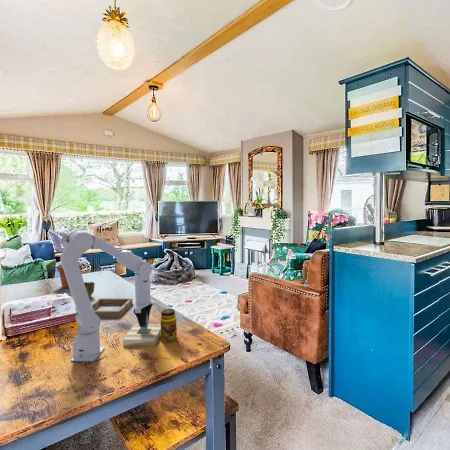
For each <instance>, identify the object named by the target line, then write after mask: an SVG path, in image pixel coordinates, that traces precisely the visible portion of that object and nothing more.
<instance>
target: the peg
mask: <svg viewBox="0 0 450 450" xmlns="http://www.w3.org/2000/svg"><path fill="white" fill-rule="evenodd" d="M148 324H149V320H148V313H147V317H146V325H145V327H140V331H142V332H144V331H147V330H148Z"/></svg>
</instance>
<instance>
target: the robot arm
mask: <svg viewBox="0 0 450 450" xmlns="http://www.w3.org/2000/svg"><path fill="white" fill-rule="evenodd" d="M67 236H68V237H67V238H66V239H65V242H64V243H63V247H62V250H61V255H60V259H59V260H60V263H61V264H62V267H63V270H64V273H65V276H66V279H67V282H68V285H69V288H68V289H69V291H70V293H71V297H72V300H73V302H74V306H75V307H74V308H75V321H76V324H78V326H77V328H76V336H75V338H74V340H72V356H73V357H72V358H71V359H70V361H71V362H95V360H97V358H98V357H99V355H101V353H102V352H103V351H104V350H105V348H106V347H105V346H101V341H100V339H101V337H100V326H101V318H99V317H98V316H97V315H96V314H95V311H96V310H94V309H93V307H92V305H91V304H92V303H91V300H90V298H89V296H88V293H87V290H86V287H85V284H84V283H85V280H84V278H83V275H82V270H81V271H80V268H79V265H78V263H79V262H78V261H79V260H80V259H81V257H82V256H83V254H85V253H87V252H88V251H89V250H90V249H91V250H101V251H103V252H104V253H106V254H107V255H110V256H112V257H114V258H116V259H115V260H116V262H117V264H118V265H121V266H122V267H125V268H126V269H128V270H129V271H132V272H133V273H134V291H135V292H134V294H135V296H134V297H135V302H134V303H135V304H134V305H135V307H134V308H133V314H134V315H135V316H136V317H135V318H136V319H137V324H139V326H140V327H145V325H146V317H147V313H148V321H149V320H150V314H151V310H152V307H153V304H154V302H155V301H154V300H152V297H151V279H150V278H151V277H150V276H151V274H152V272H153V267H152V265H151V263H150V262H148V261H146V260H144V259H143V257H142V256H138V255H135V253H134V251H133V250H130V249H122V250H121V249H119V248H117V247H116V246H114V245H112V244H111V243H109V242H108V241H106V240H104V239H103V238H100V237H99V236H95V235H93V234H91V233H89V232H86V231H83V230H81V229H77V230H76V229H75V230H73V231H71V232H70V233H69V234H68V235H67ZM61 264H60V265H61Z"/></svg>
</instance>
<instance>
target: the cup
mask: <svg viewBox="0 0 450 450" xmlns="http://www.w3.org/2000/svg"><path fill="white" fill-rule="evenodd" d="M84 284H85V287H86V290H87V293H88V296H89V299H90V298H92V294H94V292H95V285H96V284H95V282H93V281H84Z"/></svg>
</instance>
